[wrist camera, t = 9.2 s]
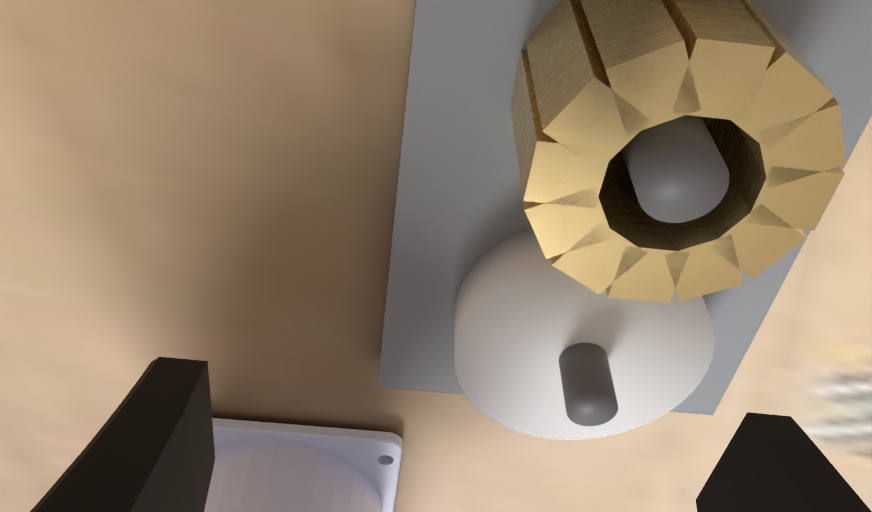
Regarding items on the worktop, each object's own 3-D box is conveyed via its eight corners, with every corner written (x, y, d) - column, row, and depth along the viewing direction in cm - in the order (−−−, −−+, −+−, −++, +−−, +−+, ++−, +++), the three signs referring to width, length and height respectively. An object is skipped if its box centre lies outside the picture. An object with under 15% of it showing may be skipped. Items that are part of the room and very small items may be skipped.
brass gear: (721, 207, 18) (770, 312, 15) (495, 184, 18) (504, 287, 15) (818, -20, 15) (903, 62, 12) (541, -54, 15) (563, 22, 12)
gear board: (704, 389, 24) (748, 520, 20) (379, 361, 23) (367, 491, 20) (1160, -521, 11) (1482, -588, 8) (479, -637, 11) (495, -767, 7)
